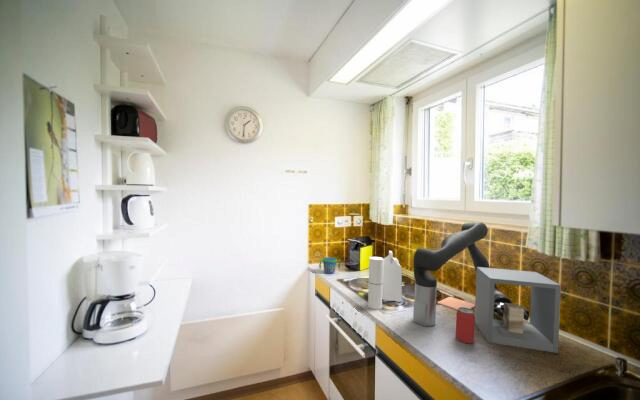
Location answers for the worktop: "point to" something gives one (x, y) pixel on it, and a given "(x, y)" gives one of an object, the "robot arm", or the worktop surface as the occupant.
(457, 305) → the terracotta mat
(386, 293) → the milk
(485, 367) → the worktop surface
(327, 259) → the snack cup
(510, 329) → the maple block
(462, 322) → the beer can
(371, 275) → the cylindrical container
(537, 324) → the box
